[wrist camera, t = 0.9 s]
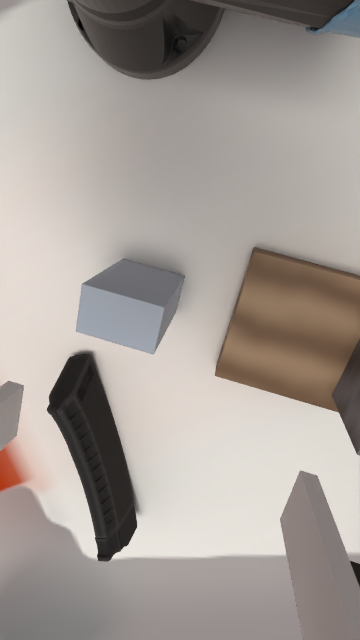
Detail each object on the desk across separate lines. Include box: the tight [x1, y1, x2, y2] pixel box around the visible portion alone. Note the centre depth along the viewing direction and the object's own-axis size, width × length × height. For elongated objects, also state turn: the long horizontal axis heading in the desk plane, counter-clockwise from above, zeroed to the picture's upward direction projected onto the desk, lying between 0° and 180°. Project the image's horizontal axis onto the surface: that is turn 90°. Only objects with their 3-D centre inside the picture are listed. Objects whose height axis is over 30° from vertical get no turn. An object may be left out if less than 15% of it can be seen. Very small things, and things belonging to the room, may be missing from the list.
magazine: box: [47, 354, 137, 561], centre depth 49 cm, size 17×3×30 cm
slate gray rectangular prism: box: [76, 259, 185, 354], centre depth 38 cm, size 5×8×12 cm, turn 77°
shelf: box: [215, 248, 360, 455], centre depth 36 cm, size 16×16×13 cm
